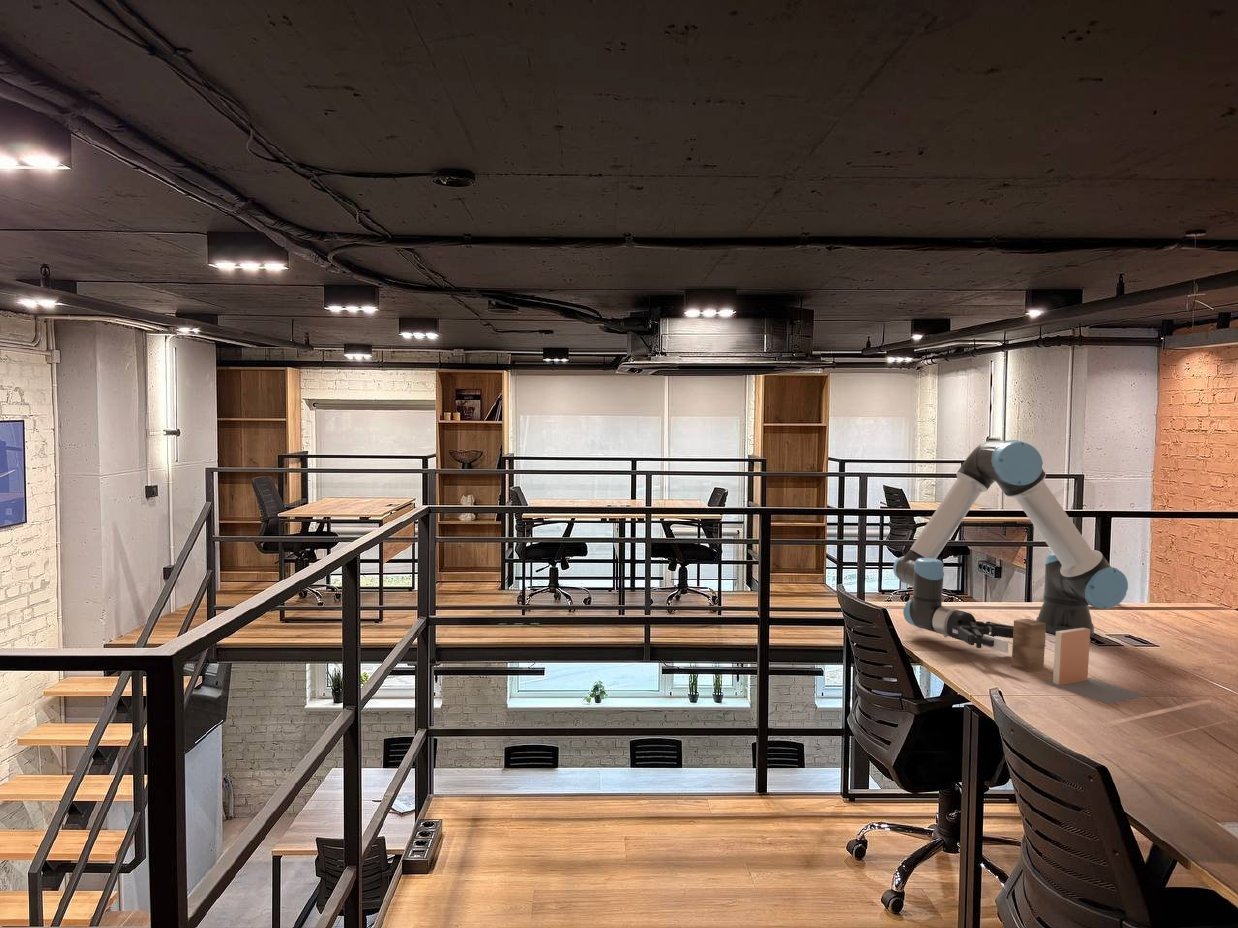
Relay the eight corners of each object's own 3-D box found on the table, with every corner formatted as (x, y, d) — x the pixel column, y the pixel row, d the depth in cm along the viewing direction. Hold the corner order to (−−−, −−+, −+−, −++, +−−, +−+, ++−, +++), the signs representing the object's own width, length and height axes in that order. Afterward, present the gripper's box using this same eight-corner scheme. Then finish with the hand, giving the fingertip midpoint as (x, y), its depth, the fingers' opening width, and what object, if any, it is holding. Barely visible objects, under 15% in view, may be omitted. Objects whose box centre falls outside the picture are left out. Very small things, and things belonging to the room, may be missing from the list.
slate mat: (1043, 685, 189) (1043, 682, 189) (1082, 678, 195) (1082, 675, 195) (1107, 706, 175) (1108, 703, 175) (1147, 697, 182) (1147, 695, 182)
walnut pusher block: (1011, 668, 201) (1013, 620, 201) (1024, 666, 204) (1027, 618, 203) (1029, 674, 197) (1032, 625, 196) (1043, 672, 199) (1046, 623, 199)
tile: (1052, 682, 189) (1055, 631, 188) (1080, 677, 194) (1083, 627, 193) (1059, 684, 187) (1062, 633, 187) (1087, 679, 192) (1090, 629, 191)
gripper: (986, 633, 225) (1058, 654, 206) (920, 642, 214) (989, 664, 195) (988, 606, 224) (1060, 624, 205) (921, 613, 213) (991, 633, 194)
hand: (1026, 644), depth 200 cm, fingers open, 13 cm apart
